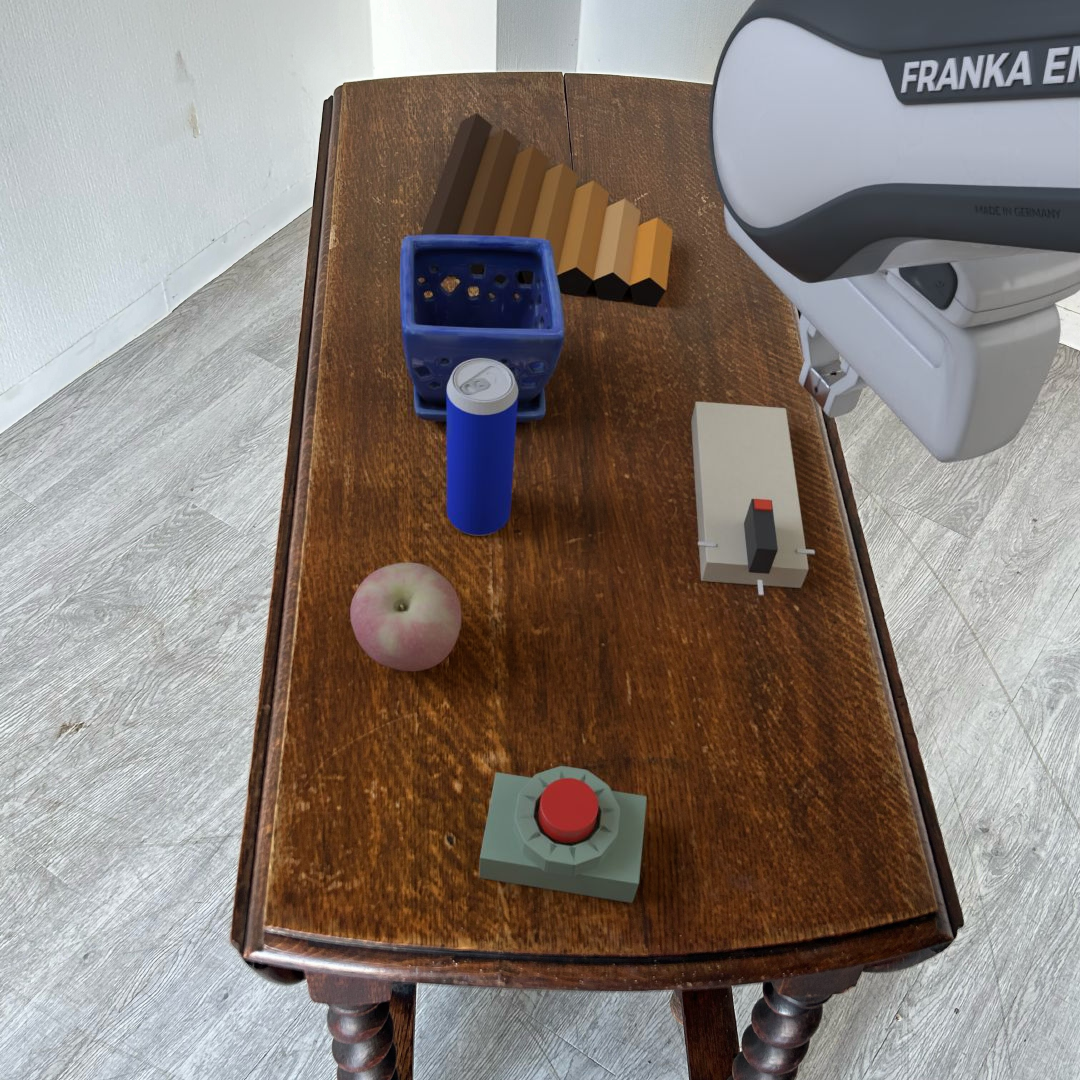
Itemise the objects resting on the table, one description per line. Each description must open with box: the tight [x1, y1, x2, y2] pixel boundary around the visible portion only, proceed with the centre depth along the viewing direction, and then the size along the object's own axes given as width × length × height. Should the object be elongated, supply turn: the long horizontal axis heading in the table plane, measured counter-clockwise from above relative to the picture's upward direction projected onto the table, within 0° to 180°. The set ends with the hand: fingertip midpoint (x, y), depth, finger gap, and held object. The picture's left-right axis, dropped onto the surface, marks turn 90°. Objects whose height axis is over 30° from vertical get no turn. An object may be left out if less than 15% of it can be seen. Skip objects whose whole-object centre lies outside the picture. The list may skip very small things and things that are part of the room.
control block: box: [478, 765, 648, 904], centre depth 71 cm, size 10×6×5 cm, turn 82°
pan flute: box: [419, 112, 674, 308], centre depth 117 cm, size 25×3×25 cm
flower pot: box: [399, 234, 566, 423], centre depth 96 cm, size 13×13×12 cm
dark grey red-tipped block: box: [744, 499, 778, 574], centre depth 86 cm, size 5×2×3 cm, turn 178°
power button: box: [539, 778, 598, 843], centre depth 69 cm, size 4×4×2 cm
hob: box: [690, 401, 816, 597], centre depth 92 cm, size 21×9×3 cm, turn 178°
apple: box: [349, 562, 462, 672], centre depth 79 cm, size 8×8×8 cm
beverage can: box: [446, 358, 518, 537], centre depth 85 cm, size 5×5×15 cm
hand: (825, 398), depth 60 cm, fingers closed
